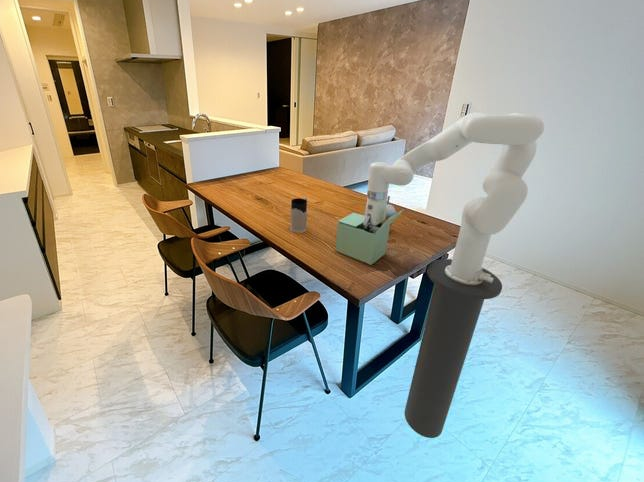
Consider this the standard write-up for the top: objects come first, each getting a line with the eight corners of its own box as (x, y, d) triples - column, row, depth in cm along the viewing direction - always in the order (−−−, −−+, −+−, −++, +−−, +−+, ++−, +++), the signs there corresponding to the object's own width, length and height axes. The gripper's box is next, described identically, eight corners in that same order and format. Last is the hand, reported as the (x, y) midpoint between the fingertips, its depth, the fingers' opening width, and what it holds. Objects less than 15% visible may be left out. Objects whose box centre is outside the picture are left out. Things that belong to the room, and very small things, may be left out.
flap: (390, 223, 121) (390, 223, 121) (375, 232, 113) (376, 233, 112) (402, 209, 116) (403, 209, 115) (388, 218, 107) (389, 219, 107)
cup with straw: (371, 230, 147) (376, 197, 139) (377, 223, 154) (382, 191, 146) (390, 235, 142) (396, 201, 134) (395, 228, 149) (401, 195, 141)
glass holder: (286, 230, 148) (287, 202, 141) (298, 219, 159) (298, 193, 152) (303, 234, 144) (304, 206, 137) (313, 222, 155) (314, 195, 149)
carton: (385, 253, 126) (390, 223, 121) (371, 265, 118) (375, 232, 112) (350, 240, 137) (353, 212, 132) (335, 250, 129) (337, 220, 123)
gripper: (375, 202, 106) (370, 246, 113) (396, 191, 118) (390, 231, 124) (356, 198, 111) (353, 240, 118) (378, 187, 123) (373, 226, 129)
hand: (372, 235), depth 121 cm, fingers open, 7 cm apart
